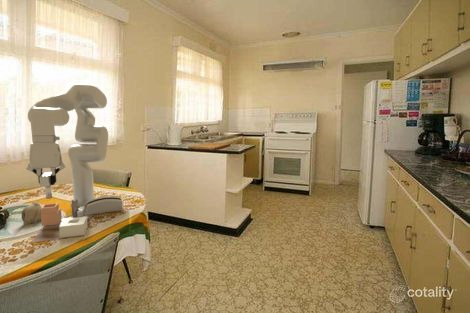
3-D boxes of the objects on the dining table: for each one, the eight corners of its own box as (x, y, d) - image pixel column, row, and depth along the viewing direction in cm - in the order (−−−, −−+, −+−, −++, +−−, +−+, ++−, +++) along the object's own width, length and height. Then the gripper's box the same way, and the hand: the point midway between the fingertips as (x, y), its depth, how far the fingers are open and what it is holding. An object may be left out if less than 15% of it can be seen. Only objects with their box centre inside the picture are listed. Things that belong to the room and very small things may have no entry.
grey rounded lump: (32, 225, 120) (32, 203, 122) (50, 223, 120) (50, 200, 121) (13, 227, 111) (14, 203, 113) (33, 225, 110) (33, 200, 112)
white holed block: (65, 229, 108) (64, 218, 108) (87, 226, 111) (86, 216, 110) (60, 237, 101) (59, 226, 100) (84, 235, 104) (83, 224, 103)
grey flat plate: (47, 224, 116) (47, 221, 115) (91, 220, 122) (91, 217, 121) (30, 246, 97) (30, 242, 97) (84, 239, 103) (83, 236, 103)
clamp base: (49, 222, 115) (47, 199, 113) (88, 218, 120) (87, 196, 118) (43, 229, 107) (41, 205, 106) (85, 225, 113) (84, 202, 111)
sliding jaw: (46, 220, 114) (44, 203, 112) (61, 218, 115) (60, 202, 114) (41, 226, 108) (40, 208, 107) (58, 224, 110) (56, 207, 109)
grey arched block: (122, 208, 137) (122, 192, 133) (123, 214, 133) (124, 198, 129) (84, 214, 128) (83, 197, 124) (85, 220, 125) (84, 203, 120)
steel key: (47, 195, 113) (45, 172, 111) (56, 194, 114) (54, 171, 112) (41, 201, 106) (39, 176, 104) (50, 200, 107) (48, 176, 105)
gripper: (69, 138, 112) (72, 181, 115) (22, 138, 107) (27, 183, 110) (65, 140, 106) (69, 185, 108) (14, 140, 100) (19, 188, 103)
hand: (47, 184), depth 109 cm, fingers closed on steel key, 3 cm apart
